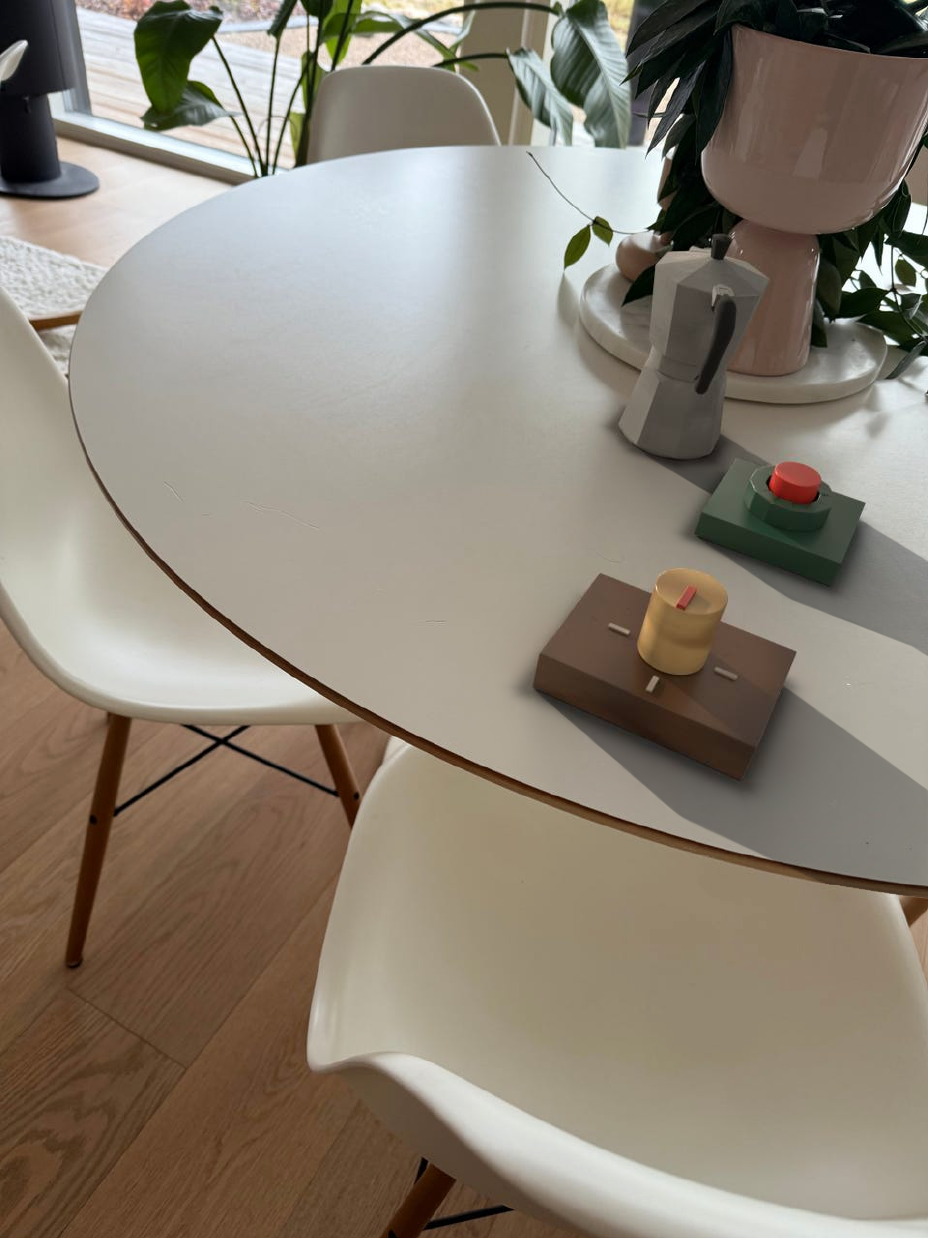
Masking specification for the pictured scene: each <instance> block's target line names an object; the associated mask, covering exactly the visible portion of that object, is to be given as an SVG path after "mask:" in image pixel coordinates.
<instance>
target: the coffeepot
mask: <svg viewBox="0 0 928 1238" xmlns="http://www.w3.org/2000/svg"><path fill="white" fill-rule="evenodd" d="M733 240H734V238H732V237H730V236H729V235H727V234H724V233H719V234H718V233H714V234H713V235H712V238H711V247H704V248H700V247H698V246H696V245H692V246H690V248H689V250H685V251H684V250H681V251H667V252H666V253H665V254H664V256H663V257H662V258H661V259H660V260H659V261H657V263H656V264H655V267H654V269H655V270H654V279H653V280H654V281H653V291H652V300H651V301H652V302H651V311H650V312H651V313H650V323H649V334H648V341H649V343H650V344H651V348H650V353H649V356H648V358H647V359H646V361H645V363H644V365H643V367H642V369H641V372H640V374H639V376H638V379H637V380H636V382H635V385H634V387H633V390H632V392H631V394H630V397H629V399H628V401H627V403H626V406H625V408H624V411H623V413H622V414H621V417H620V419H619V422H618V427H619V429H620V430H621V432H622V434H623V435H624V437H625V438H626V439H627V440H628V441H629V442H630V443H631V444H633V445H634V446H636V447H637V448H638V449H641V450H643V451H645V452H647V453H650V454H652V455H655V456H658V457H662V458H667V459H672V460H693V459H694V460H695V459H700V458H702V457H705V456H708V455H711V453H712V451H713V450H714V449H715V446H716V444H717V442H718V441H719V439H720V436H721V429H722V422H723V414H724V413H723V412H724V404H725V397H726V391H727V390H726V389H727V382H728V375H727V370H728V366H729V364H730V362H731V361H732V360H733V359H734V357H735V355H736V352H737V350H738V349H739V347H740V344H741V342H742V340H743V338H744V335H745V334H746V331H747V329H748V327H749V325H750V323H751V321H752V319H753V316H754V314H755V313H756V310H757V308H758V306H759V304H760V301H761V300H762V298H763V296H764V294H765V291H766V290H767V287H768V285H769V284H770V282H771V279H770V278H769V277H768V276H766V275H765V274H764V273H762V272H761V271H760V270H758V269H757V268H755V267H754V266H753V265H751V263H749V262H748V261H745V260H741V259H737V258H733V257H730V256H726V255H727V253H728V251H729V249H730V247H731V244H732V242H733Z"/></svg>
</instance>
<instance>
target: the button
mask: <svg viewBox="0 0 928 1238" xmlns="http://www.w3.org/2000/svg"><path fill="white" fill-rule="evenodd" d="M775 466H776V467H775V470H774V472H773V475H772V478H771V480H770V483H769V491H771V492H772V493H773V494H775V495H776V496H777V497H779V498H781V499H784V500H787V501H790V502H792V503H802V504H809V503H811V502H812V501H813V500H814V498H815V496H816V493H817V491H818V489H819V486H820V484H821V480H822V476H821V475H820V473H819V472H818V471H817V470H816V469H814V468H813V467H811V466H809V465H807V464H805V463H802V462H796V461H783V462H782V461H781V462H779V463H777V465H775Z"/></svg>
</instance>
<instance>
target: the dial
mask: <svg viewBox="0 0 928 1238" xmlns="http://www.w3.org/2000/svg"><path fill="white" fill-rule="evenodd" d="M651 593H652V595H651V599H650V602H649V605H648V609H647V612H646V615H645V619H644V622H643V625H642V628H641V632H640V635H639V638H638V642H637V647H638V651H639V653H640V655H641V657H642V658H643V659H644V660H645V661H646V662H647V663H648V664H649V665H651V666H652V667H654V668H655V669H657V670H659V671H662V672H665V673H668V674H673V675H689V674H693V673H695V672H697V671H699V670H700V669H701V668H702V667H703V666H704V665H705V662H706V660H707V657H708V654H709V652H710V649H711V646H712V643H713V641H714V638H715V635H716V633H717V630H718V627H719V624H720V622H721V621H722V619H723V616H724V613H725V611H726V608H727V605H728V602H729V596H728V593H727V590H726V589H725V586H723V584H721V583H720V581H718V580H717V579H716V578H714V577H713V576H711V575H709V574H708V573H705V572H703V571H700V570H696V569H692V568H684V567H677V568H671V569H668V570H665V571H663V572H661V573H660V574H659V575H658V576H657V577H656V578H655V583H654V586H653V589H652V591H651Z"/></svg>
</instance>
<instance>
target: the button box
mask: <svg viewBox="0 0 928 1238" xmlns="http://www.w3.org/2000/svg"><path fill="white" fill-rule="evenodd" d="M776 466H777V465H767V466H762V465H759V464H756V463H754V462H750V461H747V460H744V459H742V458H739V457H736V458H735V459H734V460H733V463H732V464H731V465H730V467H729V468H728V470H727V471H726V472H725V474H724V476H723V478H722V479H721V480H720V482H719V484H718V485H717V487H716V488H715V490H714V491H713V493H712V494H711V496H710V498H709V499H708V500H707V502H706V504H705V505H704V507H703V508H702V510H701V511H700V514H699V518H698V520H697V524H696V526H695V530H694V531H693V535H694V536H696V537H699V538H701V539H704V540H706V541H709V542H712V543H715V544H718V545H720V546H723V547H725V548H728V549H730V550H733V551H735V552H738V553H741V554H744V555H747V556H749V557H752V558H755V559H757V560H760V561H761V562H765V563H767V564H770V565H773V566H775V567H777V568H781V569H782V570H783V569H784V570H786V571H789V572H791V573H794V574H797V575H799V576H802V577H805V578H806V579H810V580H813V581H815V582H818V583H821V584H823V585H826V586H829V587H832V586H833V584H834V581H835V579H836V577H837V575H838V572H839V570H840V568H841V565H842V563H843V561H844V558H845V555H846V553H847V551H848V549H849V546H850V543H851V541H852V538H853V536H854V534H855V531H856V528H857V526H858V524H859V522H860V519H861V516H862V514H863V512H864V509H865V507H866V502H865V501H862V500H859V499H856V498H853V497H851V496H848V495H845V494H842V493H839V492H836V491H833V490H832V488H831V487H830V485H829V484H828V483H827V482H825V481H824V480H822V479H821V484H820V486H819V489H818V491H817V493H816V496H815V498H814V500H813V501H812V502H811V503H809V504H802V503H792V502H790V501H787V500H784V499H781V498H779V497H777V496H776V495H775V494H773V493H772V492H771V491H769V483H770V480H771V478H772V475H773V472H774V470H775V467H776Z"/></svg>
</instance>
